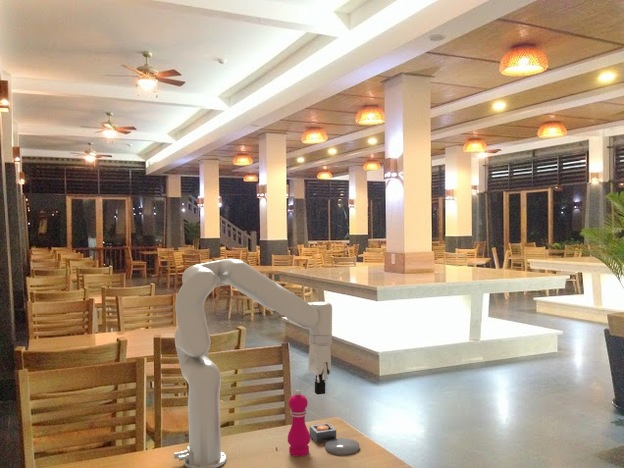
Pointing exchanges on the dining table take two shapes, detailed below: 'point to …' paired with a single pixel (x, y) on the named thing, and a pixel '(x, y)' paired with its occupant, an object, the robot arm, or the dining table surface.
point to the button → (322, 428)
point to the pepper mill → (298, 426)
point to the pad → (342, 446)
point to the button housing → (322, 433)
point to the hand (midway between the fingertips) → (319, 393)
